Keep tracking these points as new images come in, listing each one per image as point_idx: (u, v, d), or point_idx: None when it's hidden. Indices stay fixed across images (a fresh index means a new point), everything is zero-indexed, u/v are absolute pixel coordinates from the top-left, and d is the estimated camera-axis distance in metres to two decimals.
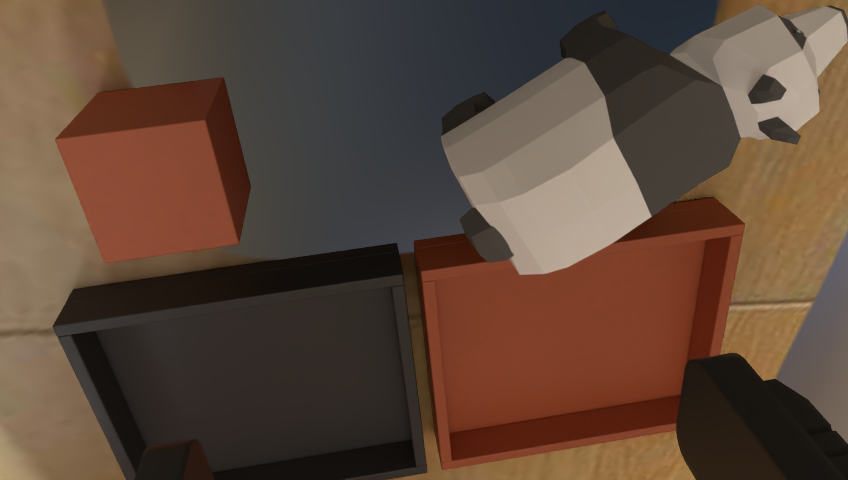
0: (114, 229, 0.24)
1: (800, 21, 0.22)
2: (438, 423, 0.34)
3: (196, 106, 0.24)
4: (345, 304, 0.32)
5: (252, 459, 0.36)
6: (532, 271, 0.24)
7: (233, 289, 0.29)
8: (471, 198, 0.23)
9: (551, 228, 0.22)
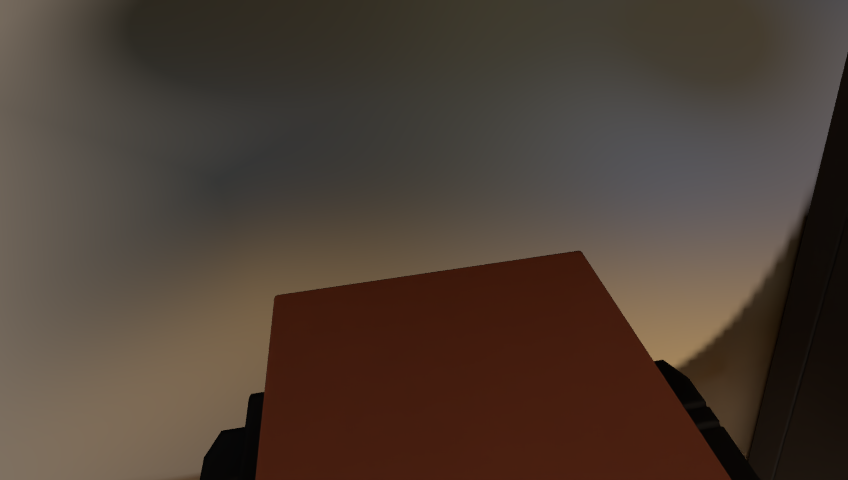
0: None
1: None
2: None
3: None
4: None
5: None
6: None
7: None
8: None
9: None
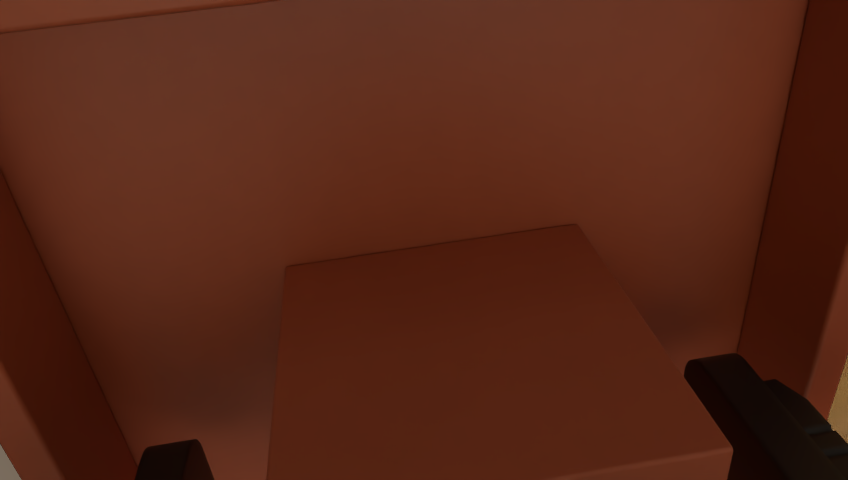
0: None
1: None
2: None
3: None
4: None
5: None
6: None
7: None
8: None
9: None
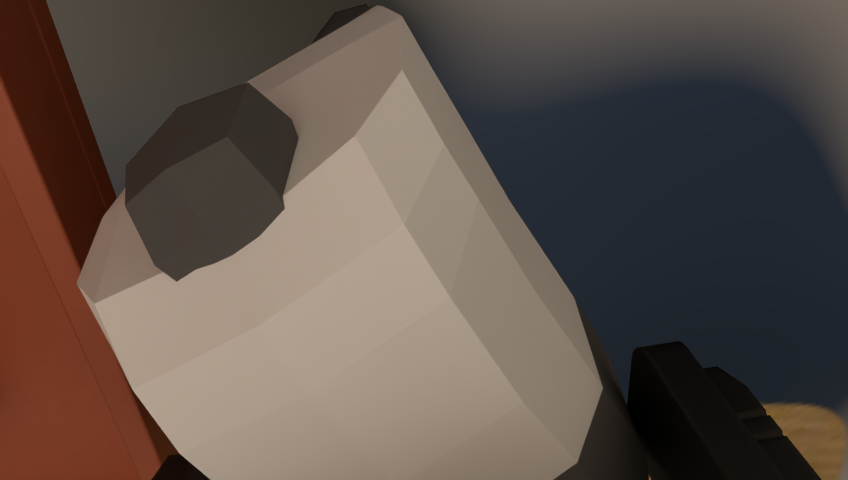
0: None
1: None
2: None
3: None
4: None
5: None
6: (127, 347, 0.07)
7: None
8: (369, 123, 0.07)
9: (332, 397, 0.07)
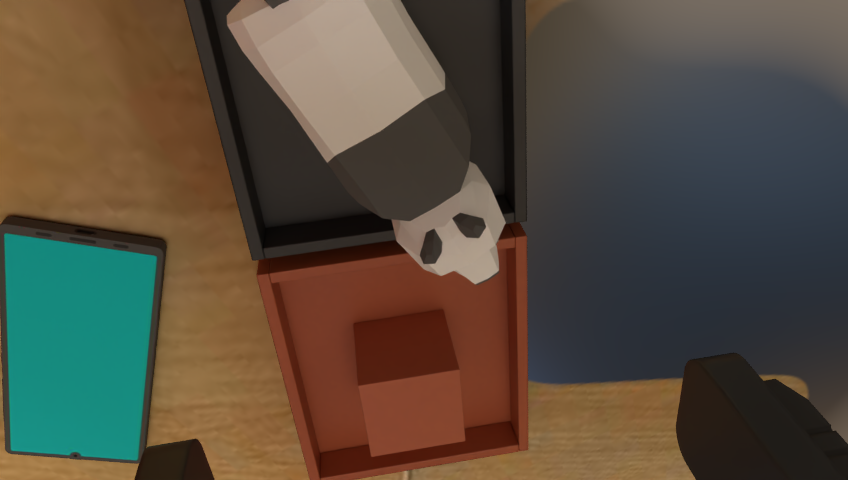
0: (387, 394, 0.32)
1: None
2: (332, 265, 0.32)
3: None
4: None
5: (232, 44, 0.28)
6: (254, 33, 0.20)
7: None
8: None
9: (328, 46, 0.20)
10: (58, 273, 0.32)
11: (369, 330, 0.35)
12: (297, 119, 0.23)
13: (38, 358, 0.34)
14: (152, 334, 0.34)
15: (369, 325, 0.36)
